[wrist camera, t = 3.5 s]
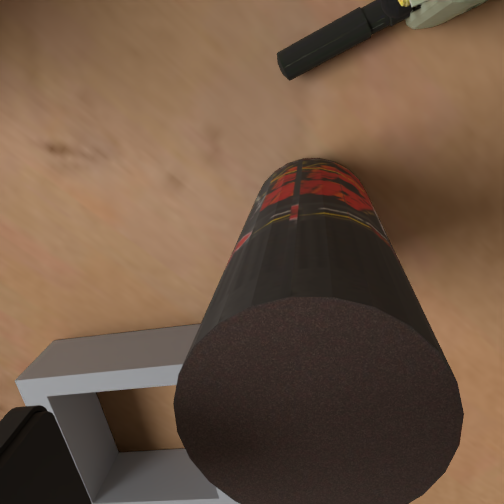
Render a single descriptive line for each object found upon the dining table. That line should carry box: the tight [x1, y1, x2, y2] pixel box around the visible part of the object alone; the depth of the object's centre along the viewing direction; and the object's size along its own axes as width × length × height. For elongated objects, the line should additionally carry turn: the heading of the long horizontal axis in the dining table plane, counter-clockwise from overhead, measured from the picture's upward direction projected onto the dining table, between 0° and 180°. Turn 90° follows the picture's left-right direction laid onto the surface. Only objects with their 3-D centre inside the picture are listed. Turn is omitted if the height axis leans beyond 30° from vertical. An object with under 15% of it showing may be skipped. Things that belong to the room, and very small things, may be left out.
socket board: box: [15, 324, 240, 504], centre depth 28 cm, size 14×21×4 cm, turn 11°
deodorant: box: [173, 158, 464, 504], centre depth 16 cm, size 6×6×15 cm
